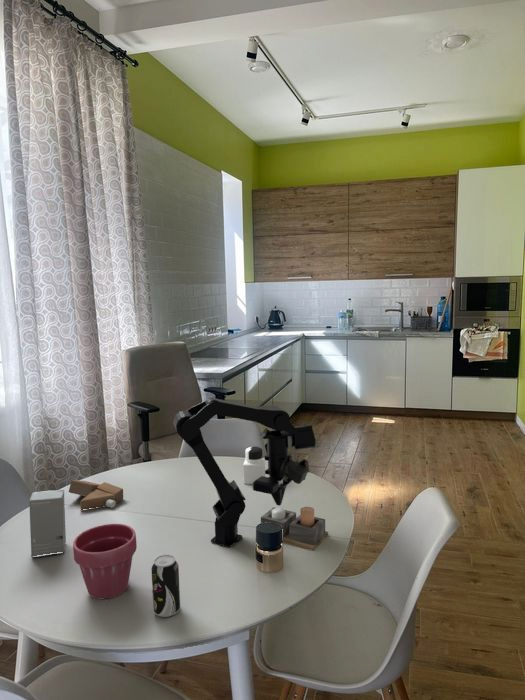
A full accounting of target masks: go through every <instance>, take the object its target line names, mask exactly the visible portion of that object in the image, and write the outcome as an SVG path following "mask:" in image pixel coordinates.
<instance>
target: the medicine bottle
mask: <svg viewBox="0 0 525 700" xmlns="http://www.w3.org/2000/svg"><path fill="white" fill-rule="evenodd" d="M244 454H245V459H244V462H243V464H242V473H243V474H242V477H243V481H242V482H243V484H244V485H253V482H254V481H255V480H257V479H258V478H260V477H261V476H264V477H266V474H265V470H266V460H265V457H264V458H263V449H262V448H261V447H259V446H249V447H247V448H245V452H244Z"/></svg>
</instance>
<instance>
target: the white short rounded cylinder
mask: <svg viewBox="0 0 525 700" xmlns="http://www.w3.org/2000/svg"><path fill="white" fill-rule="evenodd" d="M285 510H286V509H284V508H280V507H275V509H273V510H272V518H274V519H278V520H283V519H284V518H285Z"/></svg>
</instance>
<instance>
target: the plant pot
mask: <svg viewBox="0 0 525 700" xmlns="http://www.w3.org/2000/svg"><path fill="white" fill-rule="evenodd" d="M72 543H73V544H72V550H73V551H72V553H73V554H72V555H73V560H74V561H75V563H76V564H77V565H78V566H79V569H80V572H81V574H82V578H83V582H84V583H85V587H86V590H87V592H88V595H89V594H90V595H91V596H93V597H95V598H94V599H96V598H101V599H100V600H105V599H104V598H108V599H112V598H111V597H113V598H116V597H118V596H119V594H120V595H122V594H123V593H124V592H126V590H127V589H128V587H129V582H130V576H131V570H132V563H133V561H132V560H133V556H134V555H135V553H136V552H137V535H136V531H135V529H134V528H133V527H132V526H130V525H127V524H122V523H108V524H107V523H106V524H101V525H97V526H94V527H91V528H88V529H85V530H84V531H82V532H81V533H79V534H78V535H77V536H76V537H75V538H74V540H73V542H72ZM90 595H89V596H90ZM117 595H118V596H117ZM91 596H90V597H91ZM93 597H92V598H93ZM102 598H103V599H102Z"/></svg>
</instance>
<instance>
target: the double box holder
mask: <svg viewBox="0 0 525 700" xmlns="http://www.w3.org/2000/svg"><path fill="white" fill-rule="evenodd" d="M275 508H276V507H275V506H273V507H272V508H271V509H269V510H268V511H267V512H265V513H264V514H263V515H262V516H260V524H261V523H265V522H271V523H277V524H279V525H281V526H282V529H283V544H286V545H290V546H294V547H298V548H302V549H306V550H309V551H313V552H314V551H315V549H316V548H317V547H318V546H319V545H320V544H321V543H322V542H323V540H324V539H326V537H328V535H329V531H326V518H321V517H318V516H314V526H313V527H312V528H311V527H307V526H303V525H301V524H300V514H298V515H297V512H295V511H291V510H286V509H284V510H285V518H284V519H283V520H278V519H274V518H272V510H273V509H275Z"/></svg>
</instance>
